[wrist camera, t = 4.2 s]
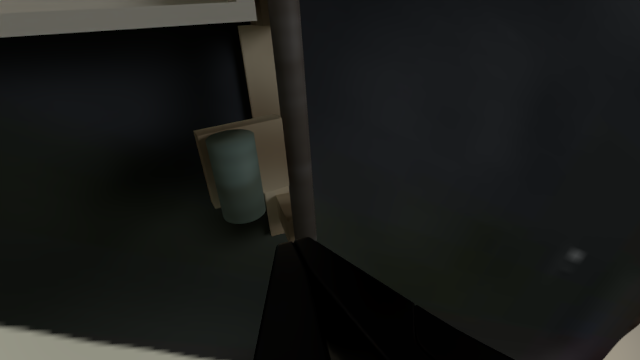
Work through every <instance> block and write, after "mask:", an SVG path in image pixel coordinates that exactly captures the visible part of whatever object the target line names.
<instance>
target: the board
mask: <svg viewBox="0 0 640 360" xmlns="http://www.w3.org/2000/svg"><path fill="white" fill-rule="evenodd" d="M245 21H257V16H256V9H255V1H254V0H0V38H1V37H17V36H32V35H47V34H62V33H78V32H93V31H108V30H123V29H139V28H154V27H169V26H184V25H200V24H215V23H230V22H245Z"/></svg>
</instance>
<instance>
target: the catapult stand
mask: <svg viewBox="0 0 640 360" xmlns="http://www.w3.org/2000/svg"><path fill="white" fill-rule="evenodd" d="M254 1H255V9H256V16H257V21H250V23H251V25H242V26H238V32H239V38H240V44H241V50H242V57H243V63H244V69H245V76H246V82H247V88H248V95H249V101H250V107H251V113H252V119H253V118H258V117H262V116H267V115H272V114H276V115H277V116H279V117H281V115H280V106H279V98H278V89H277V80H276V71H275V63H274V54H273V45H272V37H271V28H270V19H269V11H268V2H267V0H254ZM264 195H265V202H266V208H267V214H268V221H269V227H270V233H271V236H275V235H279V234H283V233H285V234H286V237H287V239H288V242H289V241H292V242H294V241H295V236H294V228H293V219H292V210H291V202H290V193H289V186H286V187H283V188H280V189H277V190H273V191H270V192H267V193H264Z"/></svg>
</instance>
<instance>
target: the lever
mask: <svg viewBox="0 0 640 360" xmlns="http://www.w3.org/2000/svg"><path fill="white" fill-rule="evenodd" d="M267 2H268V11H269V19H270V28H271V37H272V45H273V54H274V63H275V71H276V80H277V89H278V98H279V106H280V115H281V117H279V116H277V115H276V114H272V115H267V116H262V117H258V118H253V119H248V120H243V121H238V122H233V123H229V124H224V125H219V126H214V127H209V128H204V129H200V130H195V131H194V135H195V139H196V143H197V147H198V151H199V155H200V159H201V163H202V167H203V171H204V175H205V179H206V183H207V187H208V191H209V195H210V199H211V202H212V204H213V205H214V207H215V209H217V208H220V207H221V209H222V213H223V217H224V219H225V220H226V221H227V222H230V223H234V224H244V223H249V222H252V221H255V220H257V219H258V218H260V217H261V216H262V215H263V214H264V213H265V211H266V206H265V200H264V193H267V192H270V191H273V190H277V189H280V188H283V187H286V186H289V193H290V202H291V210H292V219H293V228H294V236H295V240H297V239H300V238H304V237H310V238H312V239H313V240H315V241H317V234H316V221H315V207H314V194H313V180H312V167H311V153H310V140H309V126H308V113H307V99H306V86H305V73H304V59H303V46H302V32H301V19H300V5H299V0H267Z"/></svg>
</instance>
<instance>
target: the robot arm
mask: <svg viewBox="0 0 640 360" xmlns="http://www.w3.org/2000/svg"><path fill="white" fill-rule="evenodd" d="M253 360H514V359H512V358H510V357H508V356H506V355H504V354H502V353H501V352H499V351H497V350H495V349H493V348H491V347H489V346H487V345H485V344H483V343H481V342H479V341H478V340H476V339H474V338H472V337H470V336H468V335H466V334H465V333H463V332H461V331H459V330H457V329H455V328H454V327H452V326H450V325H449V324H447V323H445V322H444V321H442V320H440V319H439V318H437V317H435V316H434V315H432V314H431V313H429V312H427V311H426V310H424V309H423V308H421V307H419V306H418V305H416V306H415V305H414V303H413V302H411V301H410V300H408V299H407V298H405V297H403V296H402V295H400V294H399V293H397V292H396V291H394V290H392V289H391V288H389V287H388V286H386V285H384V284H383V283H381V282H380V281H378V280H377V279H375V278H373V277H372V276H370V275H369V274H367V273H366V272H364V271H362V270H361V269H359V268H358V267H356V266H354V265H353V264H351V263H350V262H348V261H347V260H345V259H343V258H342V257H340V256H339V255H337V254H336V253H334V252H332V251H331V250H329V249H328V248H326V247H325V246H323V245H321V244H320V243H318V242H317V241H315V240H313V239H312V238H310V237H304V238H300V239H297V240H295V241H294V242H292V241H289V242H285V243H281V244H278V245H277V247H276V251H275V256H274V261H273V266H272V271H271V276H270V281H269V285H268V290H267V295H266V300H265V305H264V310H263V315H262V320H261V325H260V330H259V335H258V340H257V344H256V349H255V354H254V359H253Z"/></svg>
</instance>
